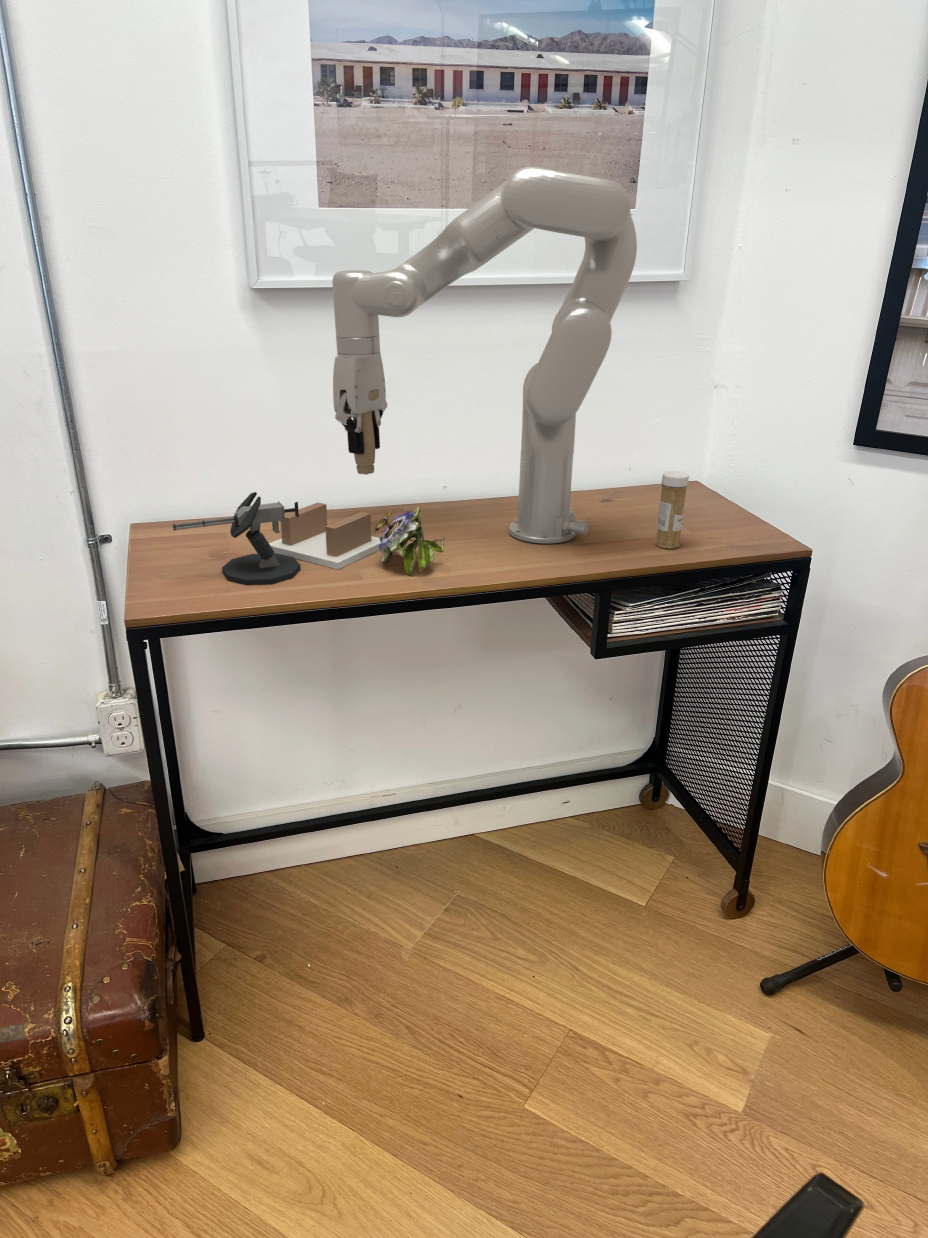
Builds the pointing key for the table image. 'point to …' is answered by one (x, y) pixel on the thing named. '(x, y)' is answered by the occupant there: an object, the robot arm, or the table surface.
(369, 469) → the handle
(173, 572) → the table surface
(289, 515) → the white base with blocks
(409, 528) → the passion flower
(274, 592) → the table surface
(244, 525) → the gun turret
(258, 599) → the table surface
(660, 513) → the sprinkles bottle
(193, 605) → the table surface
